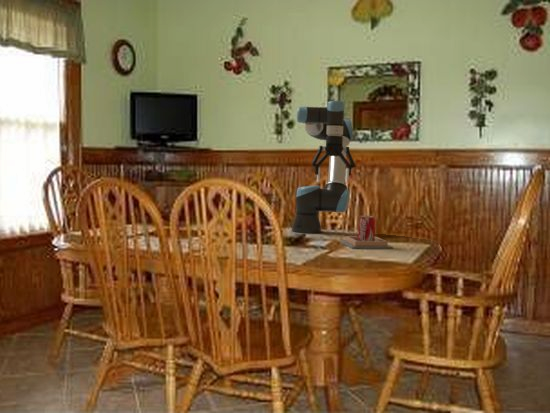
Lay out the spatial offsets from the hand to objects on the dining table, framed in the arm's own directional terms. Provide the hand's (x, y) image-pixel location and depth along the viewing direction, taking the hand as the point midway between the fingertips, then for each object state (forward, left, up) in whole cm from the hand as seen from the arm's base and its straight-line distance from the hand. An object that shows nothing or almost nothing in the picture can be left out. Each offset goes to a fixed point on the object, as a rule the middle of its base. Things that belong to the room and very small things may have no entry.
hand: (332, 182), depth 265 cm
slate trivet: (+15, +12, -27) cm, 33 cm away
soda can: (+15, +12, -26) cm, 32 cm away
